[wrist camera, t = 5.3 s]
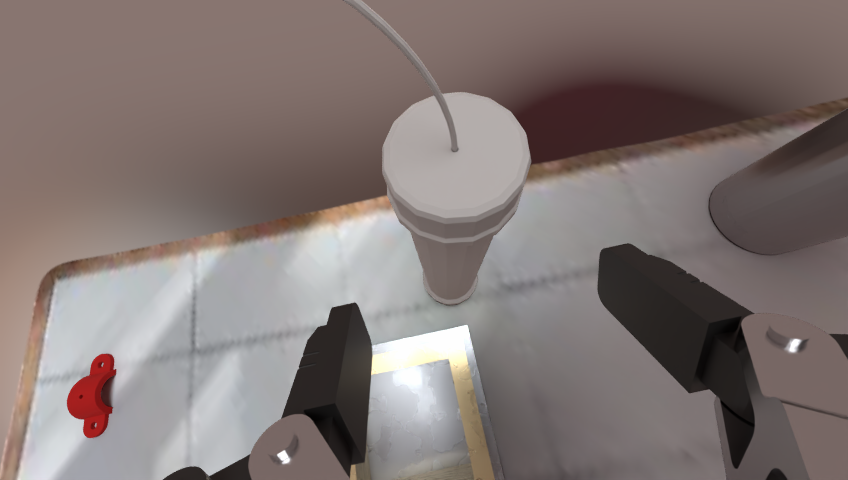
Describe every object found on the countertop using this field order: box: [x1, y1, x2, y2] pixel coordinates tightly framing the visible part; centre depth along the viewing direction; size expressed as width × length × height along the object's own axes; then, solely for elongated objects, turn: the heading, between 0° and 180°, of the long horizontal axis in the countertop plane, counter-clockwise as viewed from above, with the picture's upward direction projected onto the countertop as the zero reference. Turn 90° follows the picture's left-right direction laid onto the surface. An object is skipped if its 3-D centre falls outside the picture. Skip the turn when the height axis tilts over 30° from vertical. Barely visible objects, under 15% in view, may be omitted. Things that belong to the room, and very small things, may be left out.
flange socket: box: [350, 325, 505, 480], centre depth 27 cm, size 14×14×5 cm
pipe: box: [343, 0, 531, 305], centre depth 19 cm, size 6×6×30 cm
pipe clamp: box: [67, 354, 116, 438], centre depth 32 cm, size 8×3×2 cm, turn 12°
